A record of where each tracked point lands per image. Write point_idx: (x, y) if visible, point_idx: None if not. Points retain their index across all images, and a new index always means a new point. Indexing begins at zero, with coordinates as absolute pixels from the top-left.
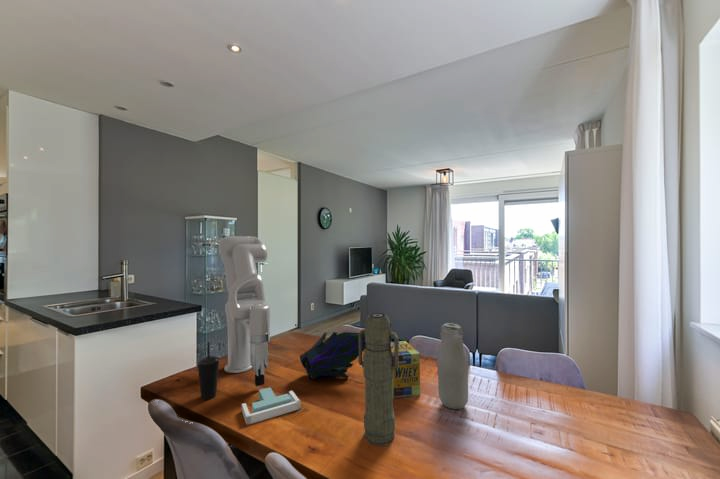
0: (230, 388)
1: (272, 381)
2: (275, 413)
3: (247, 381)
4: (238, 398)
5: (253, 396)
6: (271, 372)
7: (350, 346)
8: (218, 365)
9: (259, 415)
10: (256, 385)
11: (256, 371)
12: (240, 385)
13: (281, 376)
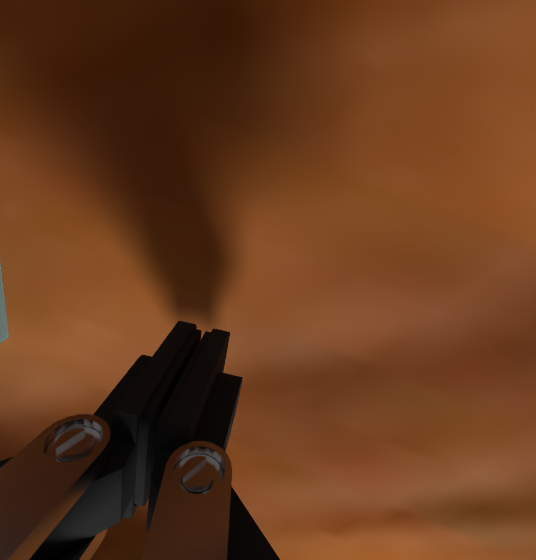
0: (503, 87)
1: (284, 464)
2: None
3: (491, 321)
4: (146, 71)
5: (97, 229)
6: (462, 530)
7: None
8: None
9: None
10: (176, 327)
11: (50, 502)
12: (466, 224)
13: (317, 538)
